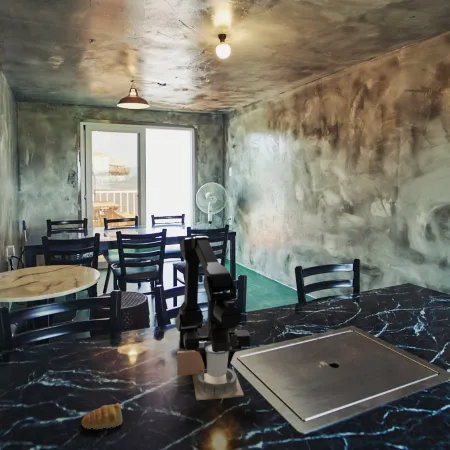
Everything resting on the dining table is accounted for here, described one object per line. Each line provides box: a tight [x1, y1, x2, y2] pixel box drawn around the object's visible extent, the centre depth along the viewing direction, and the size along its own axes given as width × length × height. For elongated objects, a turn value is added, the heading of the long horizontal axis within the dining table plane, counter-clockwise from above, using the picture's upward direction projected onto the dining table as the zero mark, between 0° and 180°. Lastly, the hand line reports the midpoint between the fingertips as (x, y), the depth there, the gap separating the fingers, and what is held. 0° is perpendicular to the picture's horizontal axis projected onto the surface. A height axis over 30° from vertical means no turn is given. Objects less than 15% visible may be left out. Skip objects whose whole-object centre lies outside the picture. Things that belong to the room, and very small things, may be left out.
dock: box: [191, 367, 245, 401], centre depth 109 cm, size 13×13×3 cm
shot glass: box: [205, 344, 229, 377], centre depth 108 cm, size 7×7×7 cm
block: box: [176, 350, 205, 376], centre depth 114 cm, size 8×1×7 cm, turn 100°
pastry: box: [81, 402, 123, 430], centre depth 92 cm, size 9×7×4 cm
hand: (216, 367), depth 109 cm, fingers closed on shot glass, 6 cm apart
